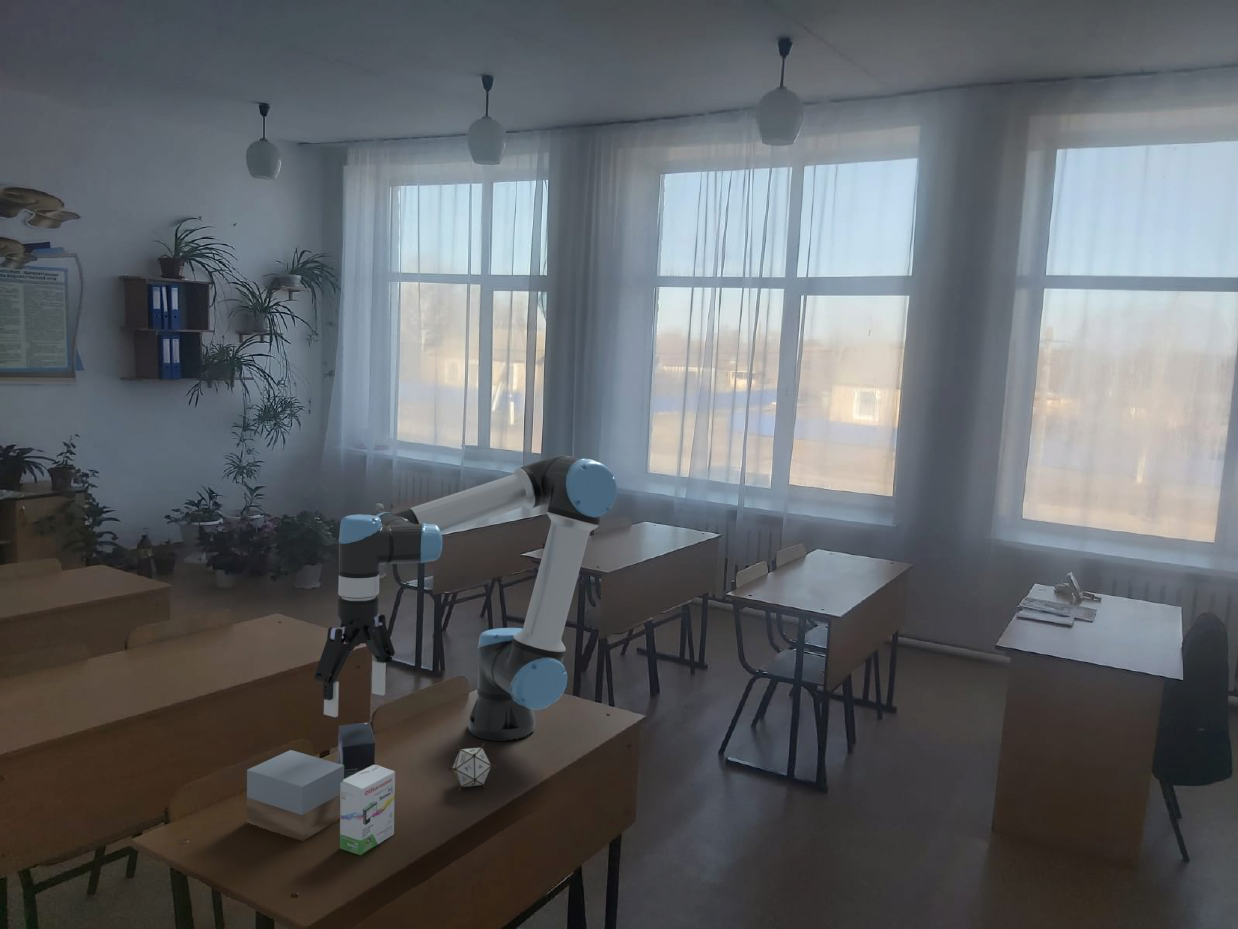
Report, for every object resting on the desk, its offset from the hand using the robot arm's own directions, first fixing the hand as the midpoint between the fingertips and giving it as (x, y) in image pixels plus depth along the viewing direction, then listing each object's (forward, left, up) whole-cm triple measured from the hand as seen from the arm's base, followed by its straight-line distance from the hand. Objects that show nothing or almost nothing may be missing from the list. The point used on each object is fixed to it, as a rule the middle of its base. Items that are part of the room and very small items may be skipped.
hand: (355, 704), depth 172 cm
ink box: (+16, +16, -16) cm, 28 cm away
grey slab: (+16, 0, -11) cm, 19 cm away
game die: (-10, +20, -16) cm, 28 cm away
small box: (0, 0, -16) cm, 16 cm away
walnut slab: (+16, 0, -16) cm, 23 cm away
